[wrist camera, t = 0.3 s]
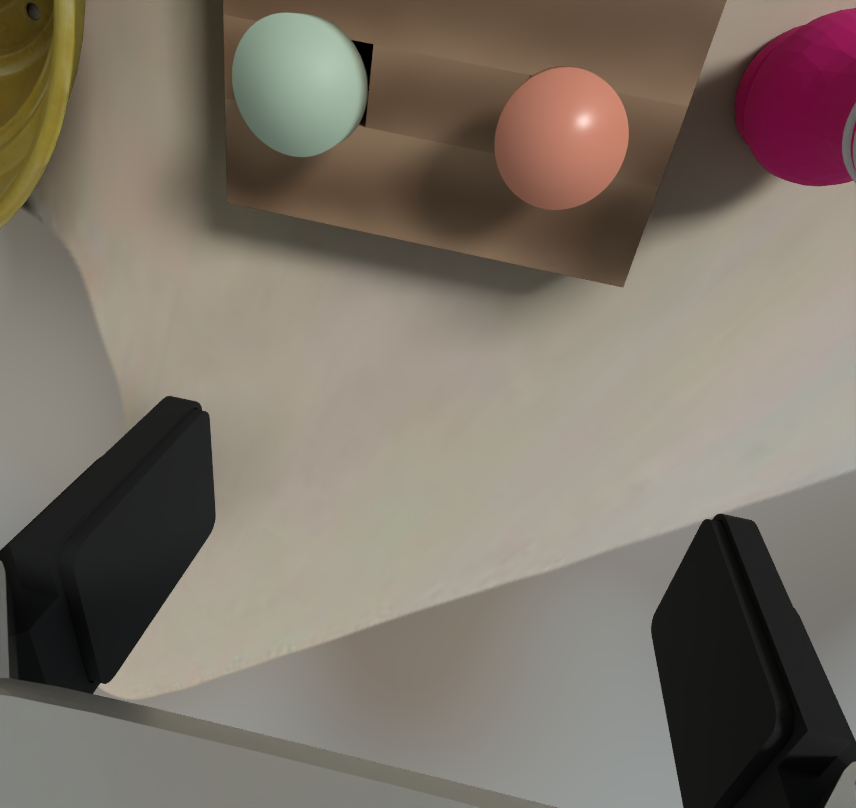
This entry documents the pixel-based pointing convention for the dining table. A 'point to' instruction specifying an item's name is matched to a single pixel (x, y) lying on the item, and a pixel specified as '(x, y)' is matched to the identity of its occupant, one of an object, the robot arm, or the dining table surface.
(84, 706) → the robot arm
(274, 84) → the green button
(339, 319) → the dining table surface
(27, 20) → the planter bowl
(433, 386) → the dining table surface
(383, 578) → the dining table surface
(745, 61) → the dining table surface
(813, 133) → the pepper mill
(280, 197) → the button panel
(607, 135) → the red button
